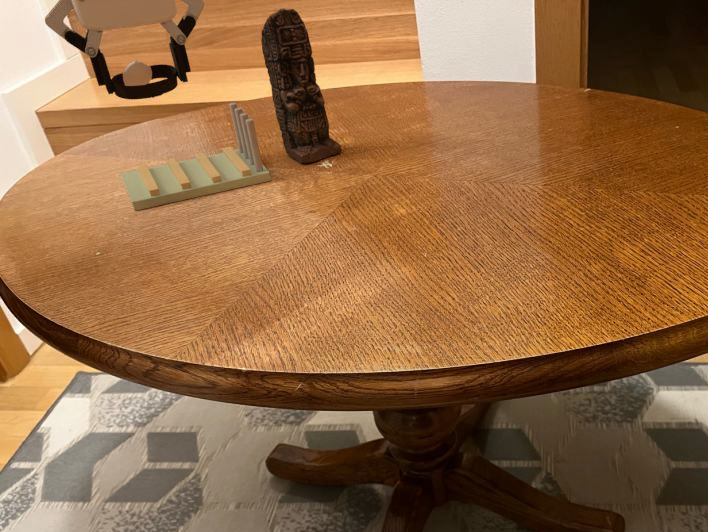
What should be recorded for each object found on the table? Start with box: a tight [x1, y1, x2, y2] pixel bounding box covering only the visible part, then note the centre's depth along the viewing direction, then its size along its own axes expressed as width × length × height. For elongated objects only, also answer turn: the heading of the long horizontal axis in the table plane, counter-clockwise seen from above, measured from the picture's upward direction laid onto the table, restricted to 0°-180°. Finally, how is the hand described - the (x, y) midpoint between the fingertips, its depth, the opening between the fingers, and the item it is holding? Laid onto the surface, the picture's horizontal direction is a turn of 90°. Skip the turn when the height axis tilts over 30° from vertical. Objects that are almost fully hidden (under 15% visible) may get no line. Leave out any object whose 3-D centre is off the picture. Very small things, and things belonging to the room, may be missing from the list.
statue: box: [260, 8, 342, 164], centre depth 103 cm, size 7×7×20 cm
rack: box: [119, 102, 272, 212], centre depth 99 cm, size 18×12×8 cm, turn 118°
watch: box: [111, 59, 179, 101], centre depth 83 cm, size 8×5×4 cm, turn 142°
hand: (147, 84), depth 83 cm, fingers closed on watch, 7 cm apart
